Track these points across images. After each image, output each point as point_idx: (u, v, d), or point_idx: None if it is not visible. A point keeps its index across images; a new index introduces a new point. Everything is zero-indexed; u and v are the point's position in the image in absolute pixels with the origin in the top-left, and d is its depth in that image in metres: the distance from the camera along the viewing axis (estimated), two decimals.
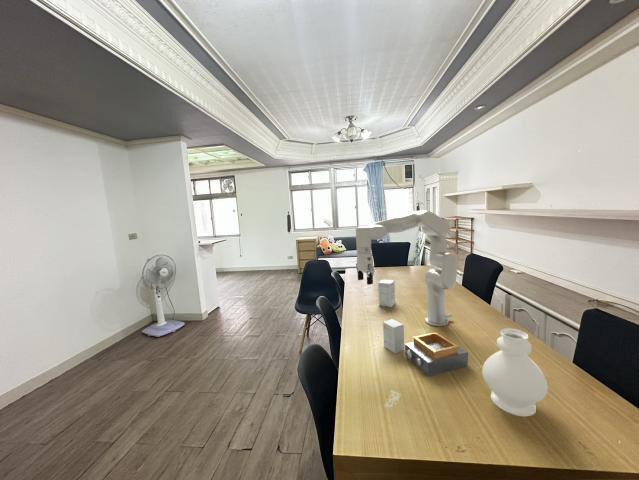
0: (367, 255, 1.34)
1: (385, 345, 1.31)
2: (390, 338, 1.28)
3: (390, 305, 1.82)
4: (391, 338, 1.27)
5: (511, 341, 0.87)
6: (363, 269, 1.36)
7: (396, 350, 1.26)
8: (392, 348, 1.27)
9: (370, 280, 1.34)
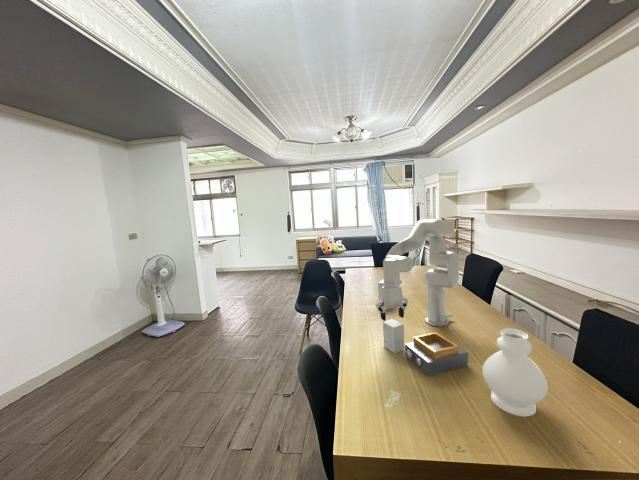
0: None
1: (385, 345, 1.31)
2: (390, 338, 1.27)
3: None
4: (391, 338, 1.27)
5: (511, 341, 0.87)
6: (399, 304, 1.26)
7: (396, 350, 1.26)
8: (392, 348, 1.27)
9: None
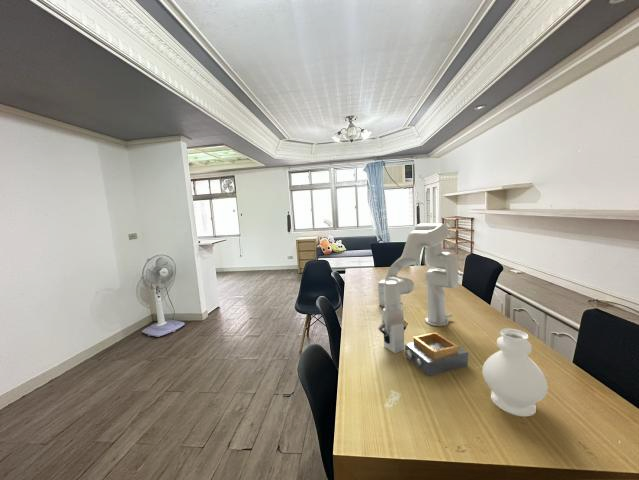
0: None
1: (385, 345, 1.31)
2: (390, 338, 1.27)
3: None
4: (391, 338, 1.27)
5: (511, 341, 0.87)
6: None
7: (396, 350, 1.26)
8: (392, 348, 1.27)
9: None
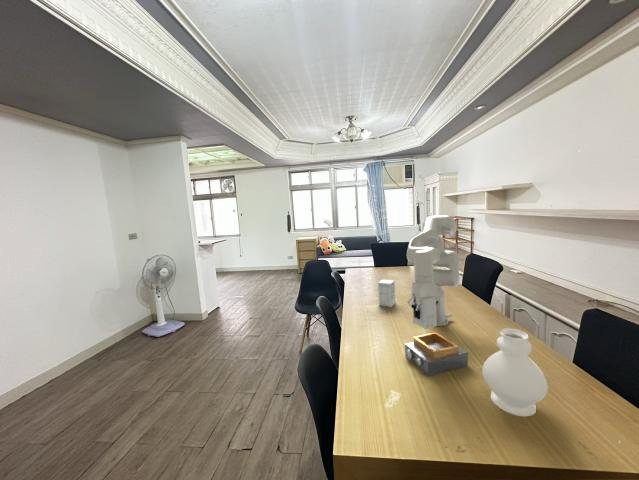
0: None
1: (414, 321, 1.20)
2: (420, 313, 1.16)
3: (390, 305, 1.82)
4: (422, 313, 1.15)
5: (511, 341, 0.87)
6: None
7: (428, 326, 1.15)
8: (423, 323, 1.15)
9: None
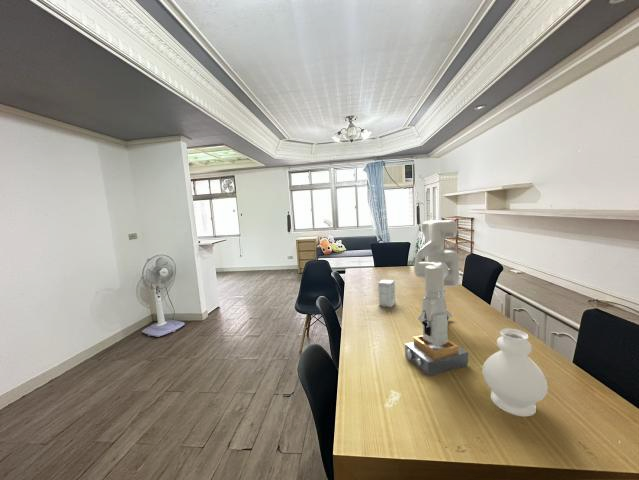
0: None
1: (425, 338, 1.18)
2: (431, 329, 1.14)
3: (390, 305, 1.82)
4: (433, 329, 1.13)
5: (511, 341, 0.87)
6: None
7: (439, 343, 1.12)
8: (434, 340, 1.13)
9: None
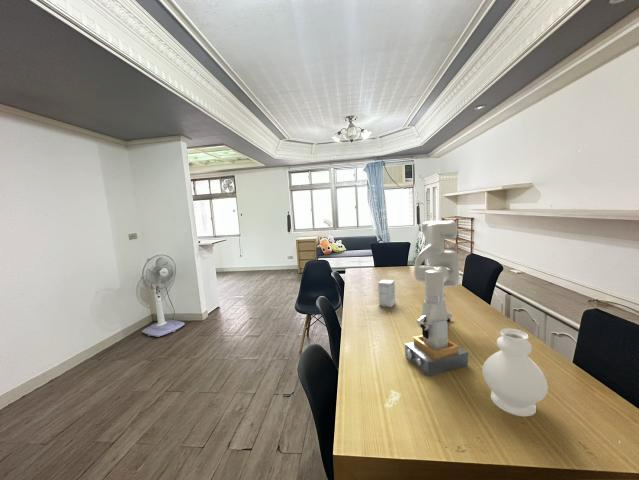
0: None
1: None
2: (431, 336, 1.15)
3: (390, 305, 1.82)
4: (433, 336, 1.14)
5: (511, 341, 0.87)
6: (443, 320, 1.14)
7: None
8: (434, 347, 1.14)
9: None
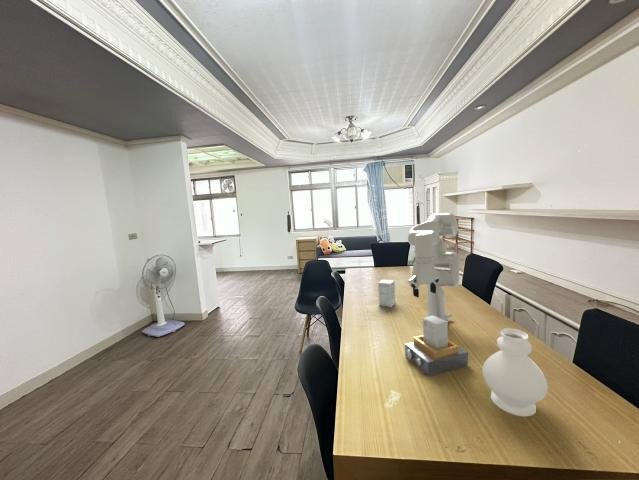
0: None
1: None
2: (431, 336, 1.15)
3: (390, 305, 1.82)
4: (433, 336, 1.14)
5: (511, 341, 0.87)
6: (431, 279, 1.24)
7: None
8: (434, 347, 1.14)
9: None
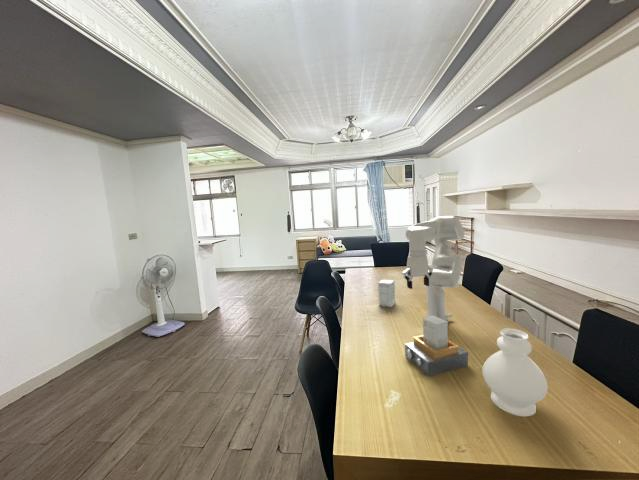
0: None
1: None
2: (431, 336, 1.15)
3: (390, 305, 1.82)
4: (433, 336, 1.14)
5: (511, 341, 0.87)
6: (425, 272, 1.31)
7: None
8: (434, 347, 1.14)
9: None
